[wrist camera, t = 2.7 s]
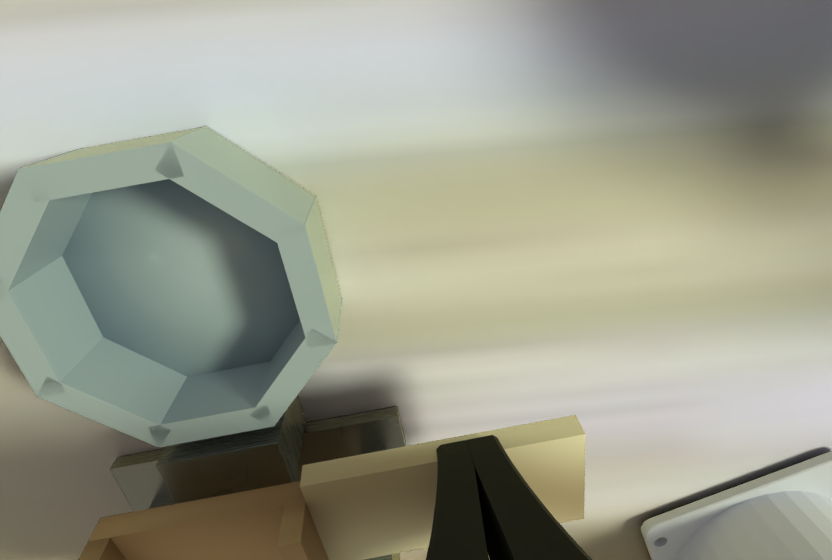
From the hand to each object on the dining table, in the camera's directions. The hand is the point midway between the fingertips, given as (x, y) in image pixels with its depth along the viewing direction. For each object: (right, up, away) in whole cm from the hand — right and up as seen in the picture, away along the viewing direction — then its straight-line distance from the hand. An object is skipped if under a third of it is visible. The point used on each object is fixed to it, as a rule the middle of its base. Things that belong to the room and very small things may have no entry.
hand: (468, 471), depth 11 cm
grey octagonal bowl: (-7, +5, +2) cm, 9 cm away
